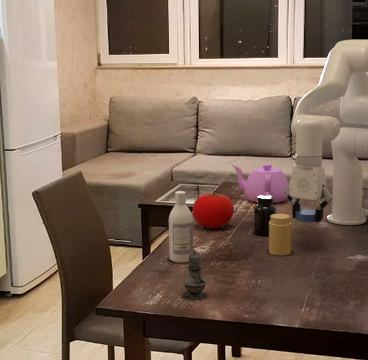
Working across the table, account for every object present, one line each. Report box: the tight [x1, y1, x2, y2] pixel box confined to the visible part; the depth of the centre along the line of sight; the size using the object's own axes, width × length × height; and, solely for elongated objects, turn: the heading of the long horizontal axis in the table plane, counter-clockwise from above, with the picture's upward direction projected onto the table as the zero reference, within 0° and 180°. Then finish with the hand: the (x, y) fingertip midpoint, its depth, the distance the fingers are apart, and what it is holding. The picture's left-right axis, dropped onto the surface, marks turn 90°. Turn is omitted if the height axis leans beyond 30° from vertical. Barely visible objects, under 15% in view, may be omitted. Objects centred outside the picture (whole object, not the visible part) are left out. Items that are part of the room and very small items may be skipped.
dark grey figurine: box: [182, 248, 207, 300], centre depth 185 cm, size 6×6×12 cm
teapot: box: [231, 163, 290, 204], centre depth 282 cm, size 22×22×14 cm
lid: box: [295, 208, 316, 223], centre depth 222 cm, size 7×7×2 cm
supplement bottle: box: [253, 196, 277, 237], centre depth 237 cm, size 7×7×12 cm
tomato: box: [192, 192, 235, 230], centre depth 247 cm, size 13×14×12 cm
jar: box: [268, 213, 292, 256], centre depth 218 cm, size 6×6×11 cm
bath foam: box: [168, 190, 194, 264], centre depth 213 cm, size 7×7×20 cm
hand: (307, 219), depth 222 cm, fingers closed on lid, 6 cm apart
